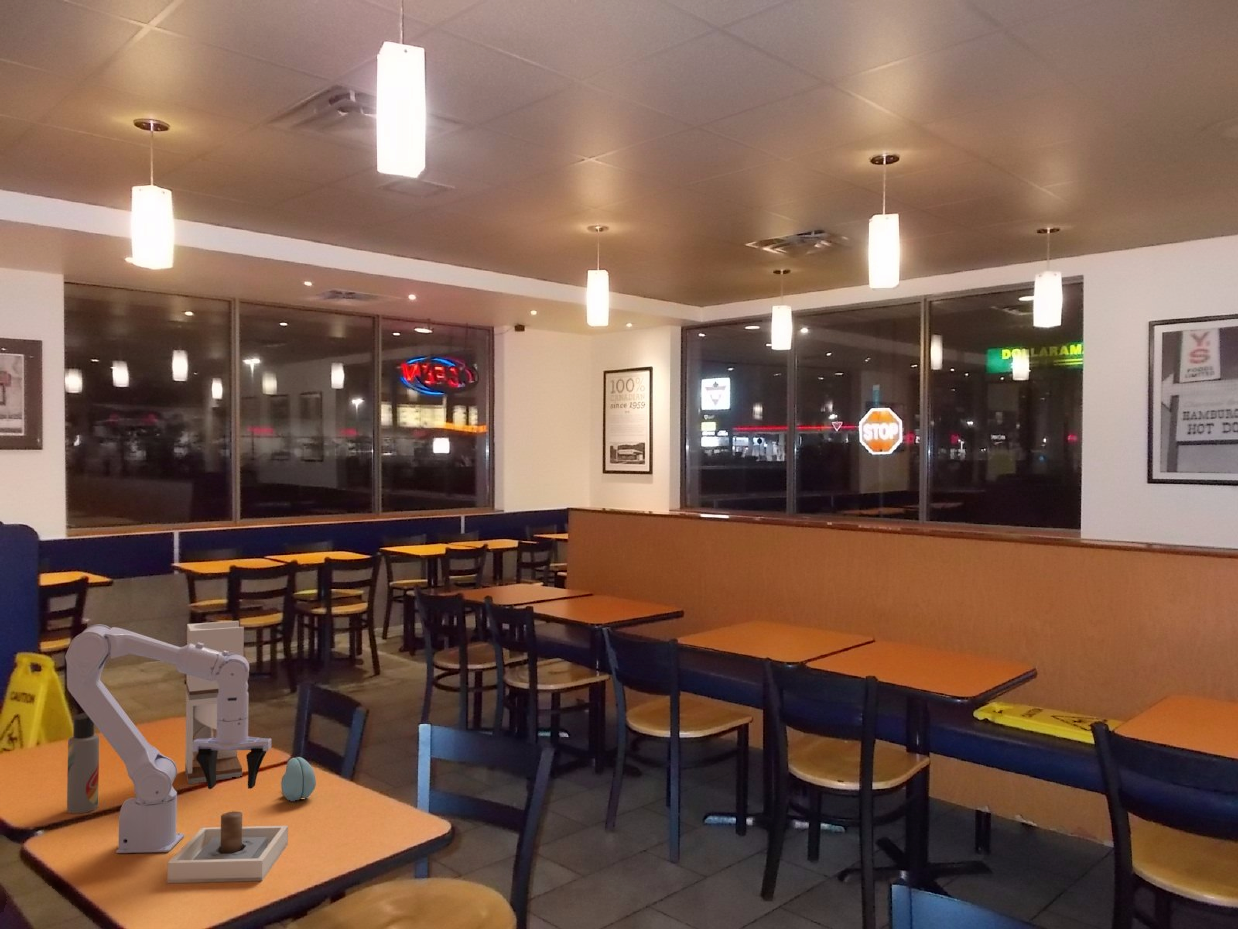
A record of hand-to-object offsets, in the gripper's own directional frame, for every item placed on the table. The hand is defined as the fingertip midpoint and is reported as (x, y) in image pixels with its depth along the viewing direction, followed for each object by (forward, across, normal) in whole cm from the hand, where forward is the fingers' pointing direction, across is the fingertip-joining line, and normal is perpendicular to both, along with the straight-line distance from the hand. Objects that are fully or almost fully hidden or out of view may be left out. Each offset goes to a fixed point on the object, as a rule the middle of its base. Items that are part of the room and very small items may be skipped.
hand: (231, 787), depth 179 cm
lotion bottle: (+10, -36, +16) cm, 41 cm away
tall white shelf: (+10, -18, +38) cm, 43 cm away
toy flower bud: (+10, +6, +22) cm, 25 cm away
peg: (+9, +4, -12) cm, 16 cm away
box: (+10, +4, -12) cm, 16 cm away
